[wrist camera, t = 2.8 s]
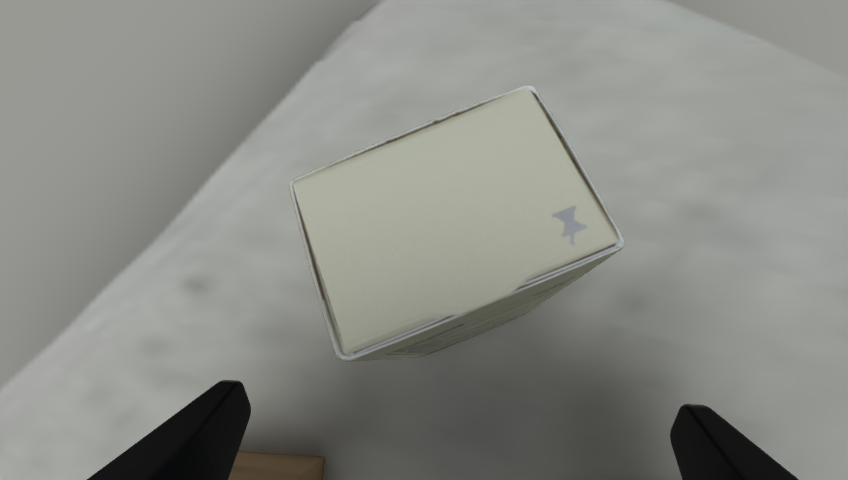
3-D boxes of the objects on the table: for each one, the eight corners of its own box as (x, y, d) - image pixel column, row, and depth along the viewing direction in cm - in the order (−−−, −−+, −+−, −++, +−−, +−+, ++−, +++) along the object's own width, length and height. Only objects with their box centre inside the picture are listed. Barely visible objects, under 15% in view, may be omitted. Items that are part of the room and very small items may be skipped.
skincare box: (495, 234, 21) (546, 69, 9) (532, 312, 19) (649, 241, 8) (379, 280, 20) (276, 173, 9) (409, 363, 19) (335, 368, 7)
